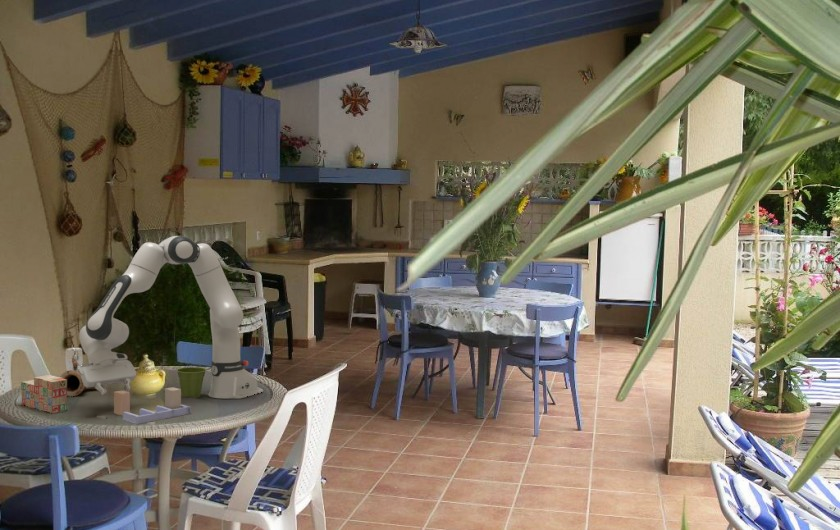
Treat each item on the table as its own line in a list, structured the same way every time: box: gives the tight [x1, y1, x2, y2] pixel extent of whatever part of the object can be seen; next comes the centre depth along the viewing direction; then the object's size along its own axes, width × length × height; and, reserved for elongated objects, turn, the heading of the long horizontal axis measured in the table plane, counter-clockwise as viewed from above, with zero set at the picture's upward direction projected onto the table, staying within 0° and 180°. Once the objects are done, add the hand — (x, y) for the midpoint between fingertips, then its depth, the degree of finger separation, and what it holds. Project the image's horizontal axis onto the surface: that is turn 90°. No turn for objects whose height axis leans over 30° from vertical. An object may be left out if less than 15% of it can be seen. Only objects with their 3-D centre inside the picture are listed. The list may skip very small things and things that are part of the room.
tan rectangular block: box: [113, 389, 131, 417], centre depth 328 cm, size 4×5×9 cm
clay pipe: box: [59, 370, 104, 398], centre depth 365 cm, size 19×11×15 cm
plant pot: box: [175, 366, 207, 399], centre depth 360 cm, size 12×12×11 cm
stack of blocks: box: [20, 374, 68, 414], centre depth 339 cm, size 21×6×12 cm, turn 53°
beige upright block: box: [164, 386, 182, 409], centre depth 330 cm, size 4×5×9 cm
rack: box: [122, 403, 192, 425], centre depth 325 cm, size 22×10×4 cm, turn 139°
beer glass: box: [64, 347, 84, 371], centre depth 383 cm, size 7×7×15 cm
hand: (116, 391), depth 330 cm, fingers open, 8 cm apart
